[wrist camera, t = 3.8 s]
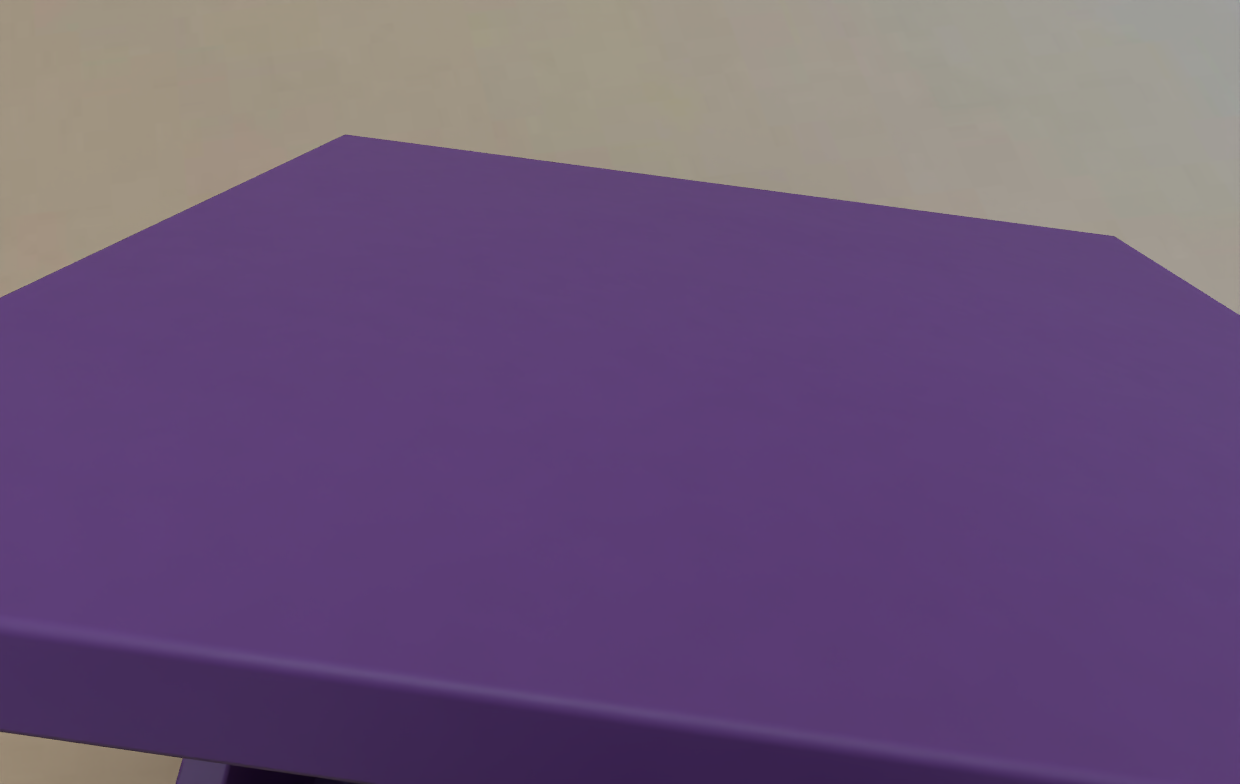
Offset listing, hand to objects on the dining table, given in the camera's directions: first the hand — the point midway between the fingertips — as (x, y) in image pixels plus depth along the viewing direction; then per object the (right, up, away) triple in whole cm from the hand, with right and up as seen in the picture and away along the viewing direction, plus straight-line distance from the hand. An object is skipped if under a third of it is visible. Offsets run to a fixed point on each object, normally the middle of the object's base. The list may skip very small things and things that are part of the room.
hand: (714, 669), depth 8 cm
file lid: (0, +3, +2) cm, 3 cm away
